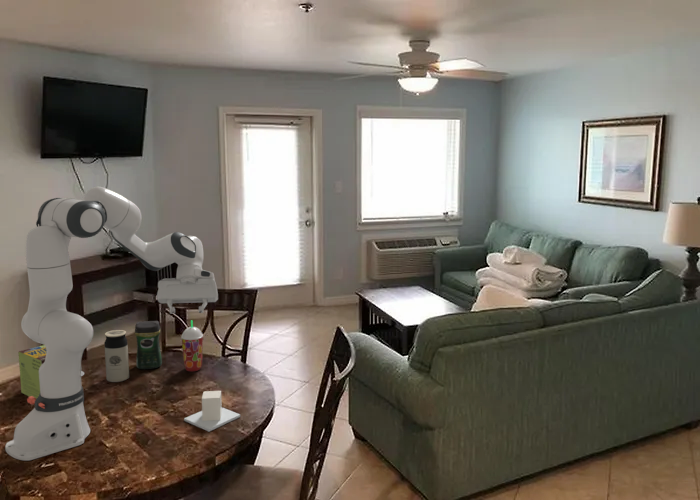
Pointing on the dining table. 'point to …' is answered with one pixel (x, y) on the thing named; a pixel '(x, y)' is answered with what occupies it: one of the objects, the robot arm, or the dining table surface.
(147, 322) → the coffee jar
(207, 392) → the cream rectangular block
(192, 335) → the smoothie
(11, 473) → the dining table surface
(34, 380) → the protein box
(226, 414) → the stud board
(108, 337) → the travel mug
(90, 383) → the dining table surface
